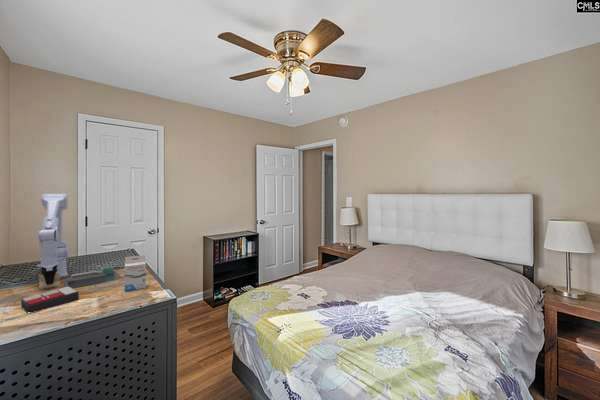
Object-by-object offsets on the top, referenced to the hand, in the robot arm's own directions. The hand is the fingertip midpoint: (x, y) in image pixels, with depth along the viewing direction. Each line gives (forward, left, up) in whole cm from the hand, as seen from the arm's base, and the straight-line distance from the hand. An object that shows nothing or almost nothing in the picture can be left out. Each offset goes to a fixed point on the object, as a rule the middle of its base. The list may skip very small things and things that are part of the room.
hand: (49, 282), depth 124 cm
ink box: (+30, +29, -2) cm, 42 cm away
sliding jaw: (-4, +17, -2) cm, 17 cm away
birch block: (0, 0, -2) cm, 2 cm away
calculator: (+25, 0, -2) cm, 25 cm away
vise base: (+2, +16, -2) cm, 16 cm away
